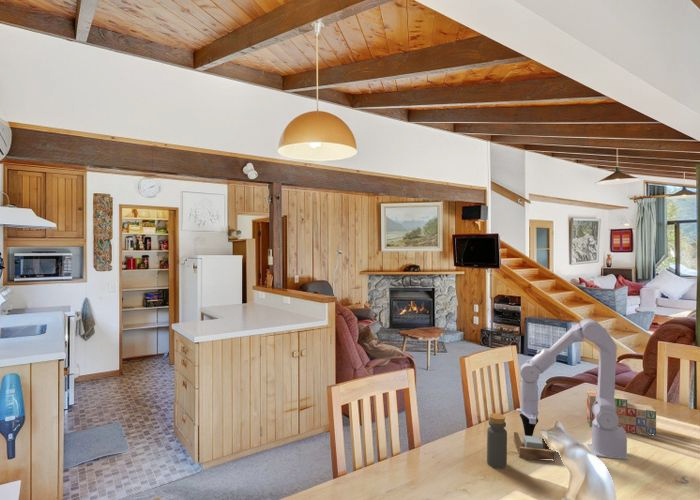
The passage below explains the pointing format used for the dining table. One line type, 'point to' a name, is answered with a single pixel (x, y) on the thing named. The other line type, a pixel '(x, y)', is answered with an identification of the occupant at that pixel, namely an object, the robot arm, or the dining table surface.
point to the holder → (533, 450)
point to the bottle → (497, 441)
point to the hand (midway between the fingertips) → (528, 436)
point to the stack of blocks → (627, 414)
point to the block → (533, 442)
